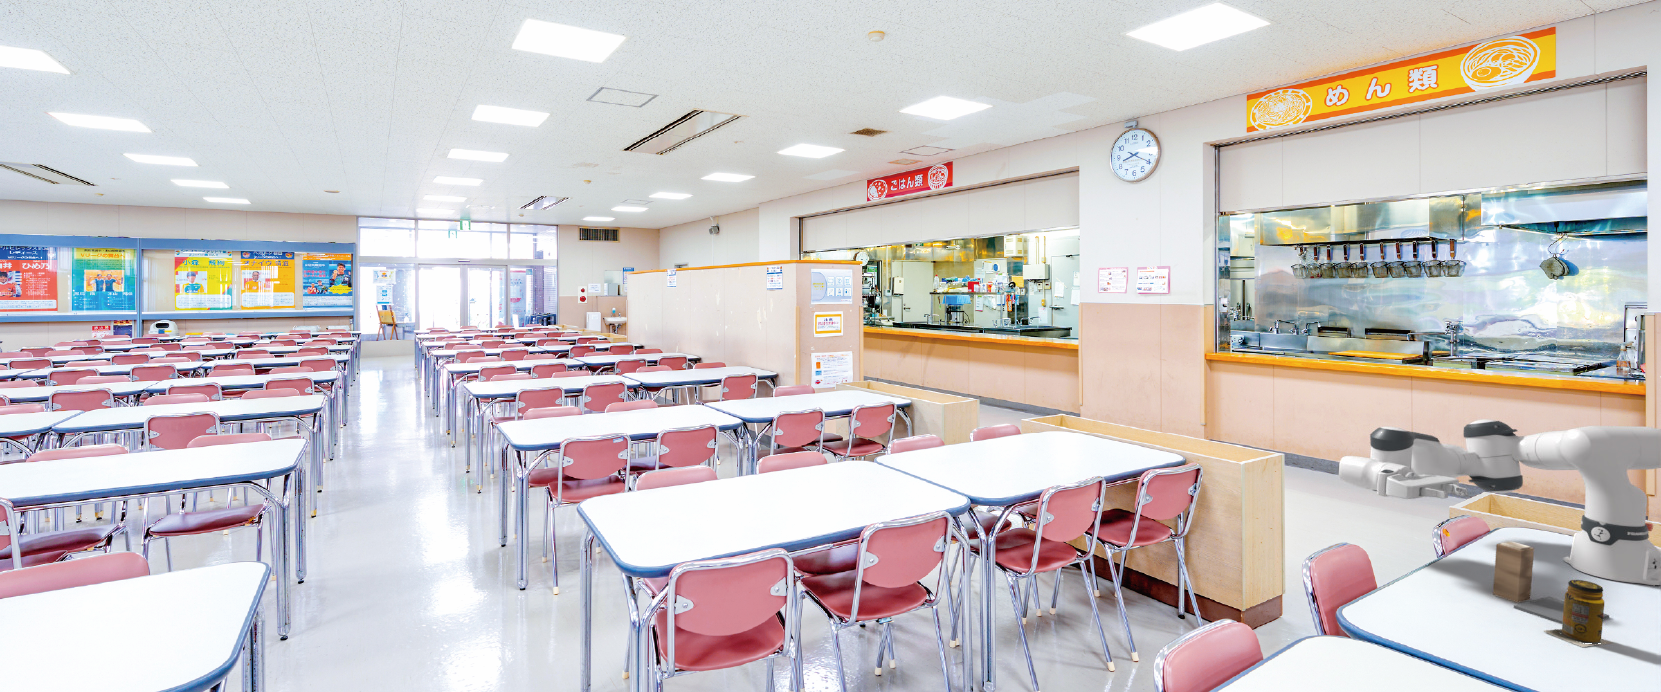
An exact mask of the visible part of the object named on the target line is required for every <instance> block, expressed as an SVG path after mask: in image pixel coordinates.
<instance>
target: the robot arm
mask: <svg viewBox="0 0 1661 692" xmlns="http://www.w3.org/2000/svg"><path fill="white" fill-rule="evenodd" d="M1515 432H1518V430H1517V429H1513V428H1512V427H1511V426H1509V425H1508V424H1506V423H1505V422H1503V421H1500V420H1495V419H1489V418H1487V419H1486V418H1485V419H1484V418H1483V419H1477V420H1475V421H1472V422H1470V423H1469V424H1466V425H1465V426H1463V438H1465V446H1466V449H1465V448H1464V447H1462V446H1459V445H1456V444H1450V443H1441V441H1440V440H1439V439H1438V437H1436V436H1433V435H1431V434H1426V433H1420V432H1416V431H1408V430H1405V429H1403V428H1400V427H1396V426H1381V427H1377V428H1376V429H1375V430H1374V431H1372V432H1371V433H1370V434H1369V435H1370V436H1369V438H1370V442H1369V443H1370V455H1369V456H1370V457H1364V456H1357V455H1356V456H1355V455H1345V456H1343V457H1341V458H1340V461H1339V463H1338V468H1337V475H1338V478H1339V479H1340V480H1341V481H1342V482H1344V483H1346V484H1348V485H1352V486H1355V487H1357V488H1361V489H1364V490H1368V491H1373V492H1376V493H1377V495H1378V496H1380V497H1392V498H1398V499H1401V500H1416V499H1421V498H1427V497H1429V498H1437V499H1441V500H1443V499H1448V498H1449V494H1455V495H1457V496H1461V497H1462V496H1467V495H1468V489H1467V488H1466V487H1460V480H1459V479H1457V478H1459V477H1460V478H1461V477H1463V476H1465V477H1466V476H1468V477H1469V478H1470V479H1468V482H1469V483H1473V484H1474V485H1475V486H1476V487H1477V488H1479V489H1481V490H1483V491H1485V492H1489V493H1494V494H1508V493H1512V492H1514V491H1516V490H1519V489H1520V488H1522V487H1523V483H1524V478H1523V475H1522V473H1521V466H1520V463H1521V464H1523V465H1524V466H1527V467H1529V468H1532V469H1537V470H1545V471H1578V473H1579V474H1580V476H1581V478H1582V481H1583V486H1584V491H1585V496H1584V497H1585V499H1584V514H1582V516H1581V520H1580V529H1581V530H1579V531H1578V532H1575V533H1574V535H1573V539H1572V545H1571V550H1570V556H1565V557H1563V561H1564V562H1566V563H1567V564H1569V565H1571V567H1572V568H1574V569H1575V570H1578V571H1580V572H1582V573H1585V574H1588V575H1591V576H1595V577H1599V578H1602V579H1607V580H1612V581H1617V582H1624V583H1634V584H1643V585H1649V586H1655V585H1660V586H1661V550H1660V549H1658V548H1657V547H1656V546H1655V544H1653V543H1652V541H1651V540H1650V539H1649V538H1650V535H1649V534H1650V533H1649V532H1652V531H1653V528H1654V525H1653V523H1648V522H1646V521H1647V520H1646V519H1647V506H1648V497H1647V495H1646V492H1645V491H1643V490H1642V489H1641V488H1639V487H1638V486H1636V485H1634V484H1633V483H1631V481H1630V479H1629V476H1628V470H1636V471H1637V470H1655V469H1656V470H1657V469H1661V428H1656V427H1652V426H1651V427H1650V426H1638V425H1637V426H1636V425H1635V426H1634V425H1633V426H1630V425H1629V426H1628V425H1627V426H1626V425H1625V426H1621V425H1618V426H1617V425H1614V426H1613V425H1587V426H1580V427H1575V428H1570V429H1566V430H1554V431H1553V430H1552V431H1543V432H1539V433H1533V434H1528V435H1521V436H1518V435H1517V434H1516V433H1515Z"/></svg>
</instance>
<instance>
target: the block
mask: <svg viewBox="0 0 1661 692" xmlns="http://www.w3.org/2000/svg"><path fill="white" fill-rule="evenodd" d="M1495 546H1496V548H1495V559H1494V560H1495V561H1494V573H1493V574H1494V575H1493V576H1494V577H1493V588H1492V589H1493V590H1492V595H1494V596H1497V597H1500V598H1503V599H1505V600H1509V601H1511V602H1514V603H1518V604H1519V603H1521V602H1522V603H1523V602H1527V601H1531V595H1532V582H1533V579H1532V578H1533V567H1534V566H1533V565H1534V555H1535V554H1534V553H1535V548H1534V547H1531V546H1529V545H1525V544H1523V543H1519V542H1516V541H1515V542H1514V541H1512V540H1511V541H1504V542H1499V543H1496V545H1495Z"/></svg>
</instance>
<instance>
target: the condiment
mask: <svg viewBox="0 0 1661 692" xmlns="http://www.w3.org/2000/svg"><path fill="white" fill-rule="evenodd" d="M1567 584H1568V587H1566V590H1567V591H1566V592H1565V594H1564V599H1563V601H1564V610H1563V622H1562V624H1561V628H1558V629H1557V628H1555V629H1550V630H1549V629H1548V630H1547V629H1546V630H1543V632H1545V633H1547V634H1549V635H1551V636H1553V637H1556V638H1558V639H1560V640H1563V641H1565V642H1568V643H1570V644H1573V645H1575V646H1579V647H1580V648H1581V647H1582V648H1585V647H1587V648H1588V647H1592V646H1604V645H1607V644H1609V645H1610V644H1613V641H1610V640H1606V639H1604V638H1602V633H1603V624H1604V619H1603V614H1605V613H1604V612H1605V599H1603V597H1604V589H1603V586H1601V585H1600V584H1597V583H1594V582H1591V581H1586V580H1583V579H1582V580H1581V579H1571V580H1568V583H1567ZM1583 643H1584V644H1583ZM1585 643H1592V644H1585ZM1598 643H1601V644H1598ZM1595 644H1596V645H1595Z"/></svg>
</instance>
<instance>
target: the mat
mask: <svg viewBox="0 0 1661 692" xmlns="http://www.w3.org/2000/svg"><path fill="white" fill-rule="evenodd" d="M1513 609H1516V610H1519V611H1522V612H1525V613H1528V614H1531V615H1534V616H1537V617H1539V616H1540V617H1541V618H1543V619H1546V620H1548V621H1551V622H1555V623H1557V624H1561V625H1562V622H1563V610H1564V600H1561V599H1559V598H1555V597H1552V596H1546V597H1542V598H1538V599H1534V600H1528V601H1524V602H1522V603H1521V602H1520V603H1518V604H1514V605H1513ZM1609 618H1610V614H1607V613H1604V614H1603V620H1606V619H1609Z"/></svg>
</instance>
